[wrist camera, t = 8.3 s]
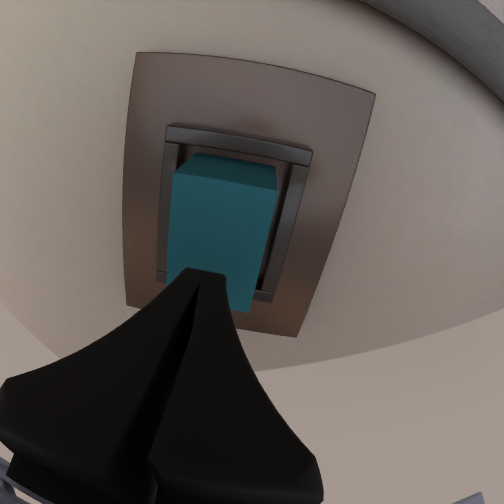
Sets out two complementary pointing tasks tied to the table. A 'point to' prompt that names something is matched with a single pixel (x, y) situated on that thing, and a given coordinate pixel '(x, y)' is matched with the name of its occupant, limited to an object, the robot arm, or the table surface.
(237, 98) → the brown board with frame
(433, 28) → the flashlight
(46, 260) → the table surface
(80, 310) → the table surface
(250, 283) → the teal block
